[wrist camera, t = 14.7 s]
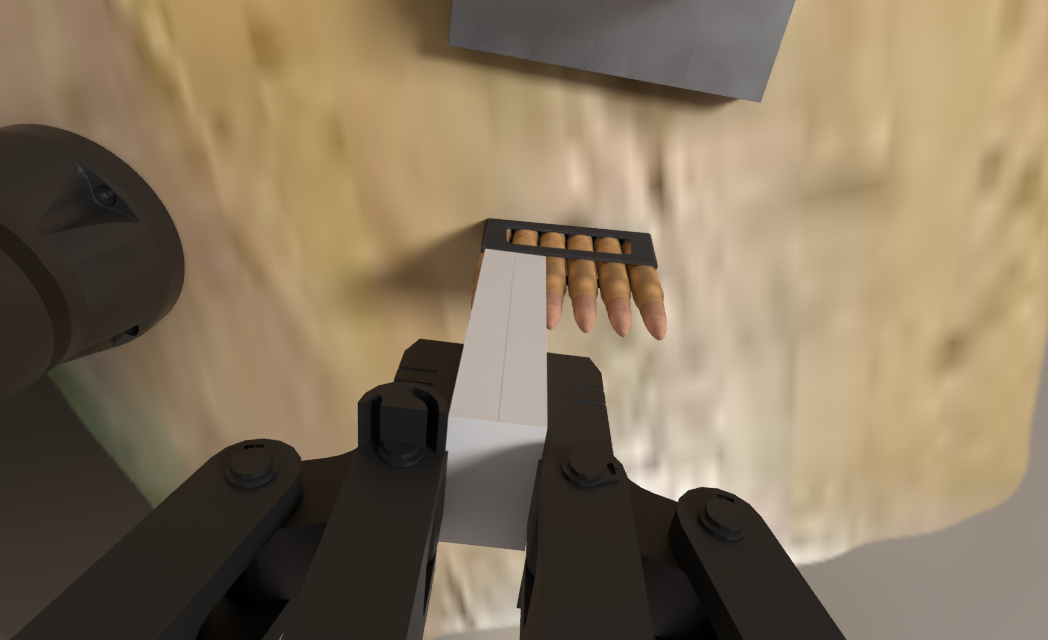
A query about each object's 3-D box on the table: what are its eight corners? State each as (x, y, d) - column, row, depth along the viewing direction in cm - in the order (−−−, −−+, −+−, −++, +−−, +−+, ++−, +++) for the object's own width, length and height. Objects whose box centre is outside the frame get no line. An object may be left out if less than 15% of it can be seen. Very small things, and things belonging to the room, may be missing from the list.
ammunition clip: (484, 244, 40) (457, 336, 29) (486, 217, 39) (458, 302, 29) (645, 259, 40) (676, 357, 29) (650, 233, 39) (684, 324, 28)
